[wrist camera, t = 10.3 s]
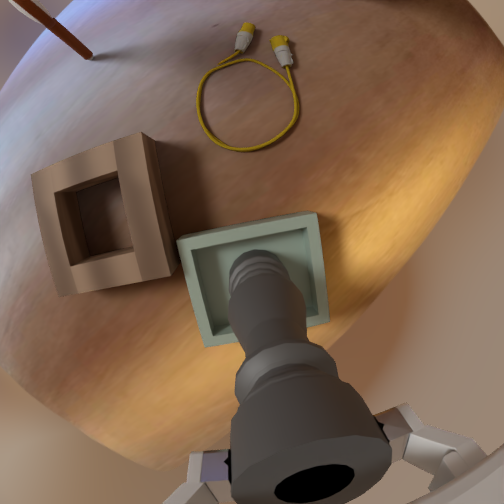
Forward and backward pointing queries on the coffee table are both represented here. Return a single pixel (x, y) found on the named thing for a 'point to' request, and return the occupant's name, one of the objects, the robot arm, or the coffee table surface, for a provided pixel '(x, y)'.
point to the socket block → (136, 208)
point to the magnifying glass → (51, 24)
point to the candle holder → (293, 401)
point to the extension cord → (282, 55)
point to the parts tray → (242, 240)
